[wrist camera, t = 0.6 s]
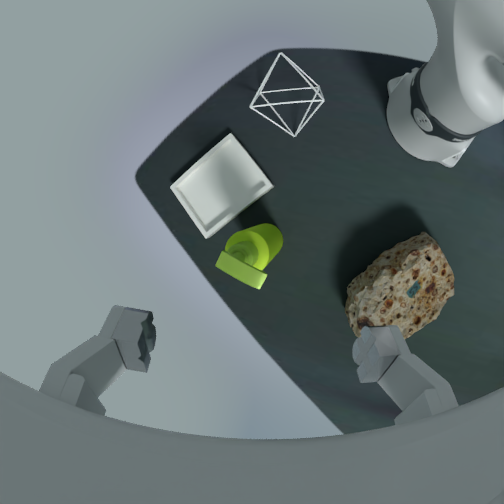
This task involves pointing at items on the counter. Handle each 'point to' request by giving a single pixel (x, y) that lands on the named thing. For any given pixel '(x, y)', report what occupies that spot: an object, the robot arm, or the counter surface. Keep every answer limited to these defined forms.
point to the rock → (401, 287)
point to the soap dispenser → (251, 253)
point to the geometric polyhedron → (288, 102)
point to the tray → (221, 185)
